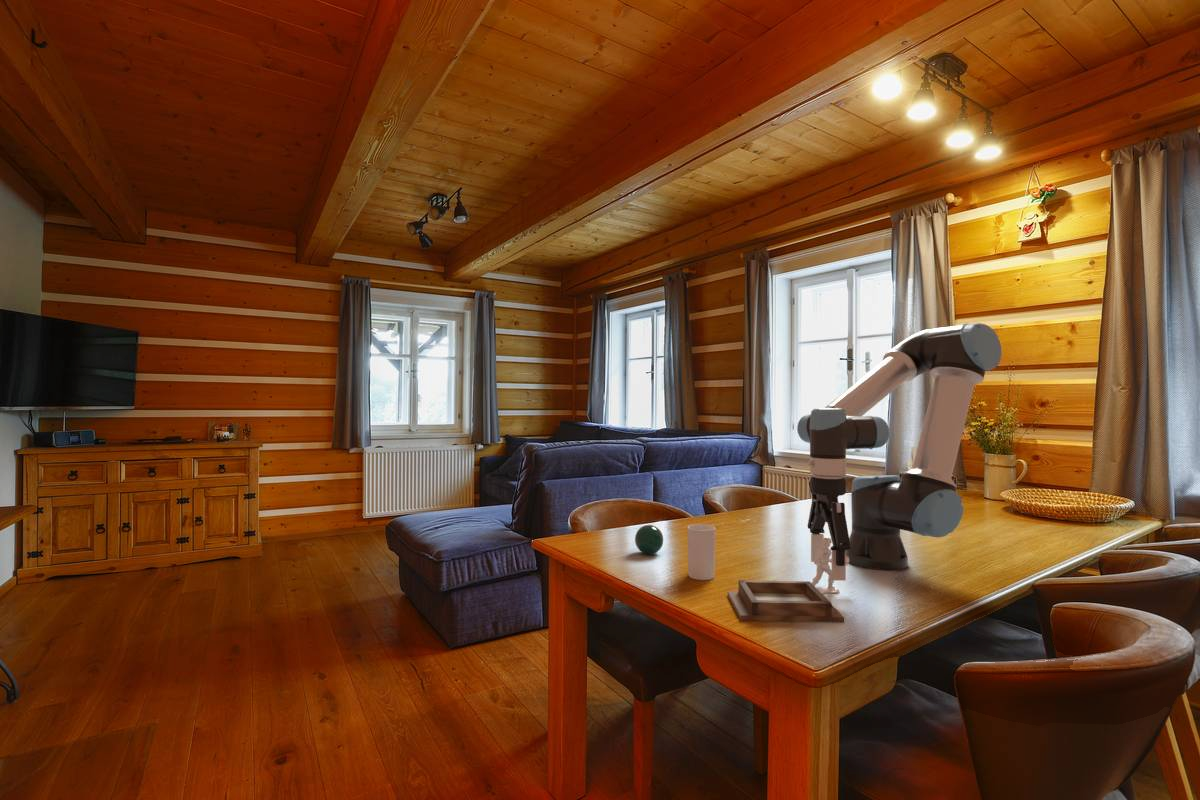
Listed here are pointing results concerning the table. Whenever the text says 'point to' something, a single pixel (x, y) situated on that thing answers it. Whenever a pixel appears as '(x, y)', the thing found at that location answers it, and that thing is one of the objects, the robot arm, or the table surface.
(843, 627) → the table surface
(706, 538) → the mug
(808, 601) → the brown picture frame
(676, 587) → the table surface
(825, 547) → the figurine
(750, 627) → the table surface
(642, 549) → the sphere
